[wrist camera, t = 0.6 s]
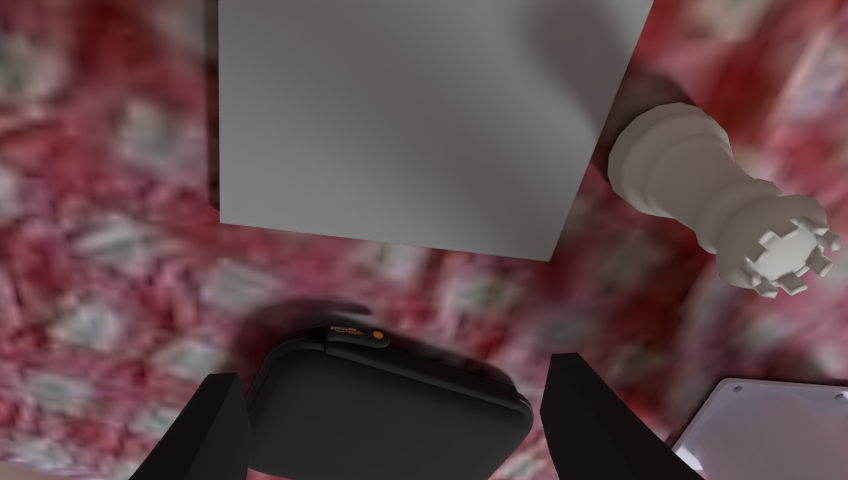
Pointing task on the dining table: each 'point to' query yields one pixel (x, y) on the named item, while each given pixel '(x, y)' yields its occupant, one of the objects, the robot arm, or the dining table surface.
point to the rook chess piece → (720, 200)
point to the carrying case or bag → (376, 412)
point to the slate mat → (417, 116)
